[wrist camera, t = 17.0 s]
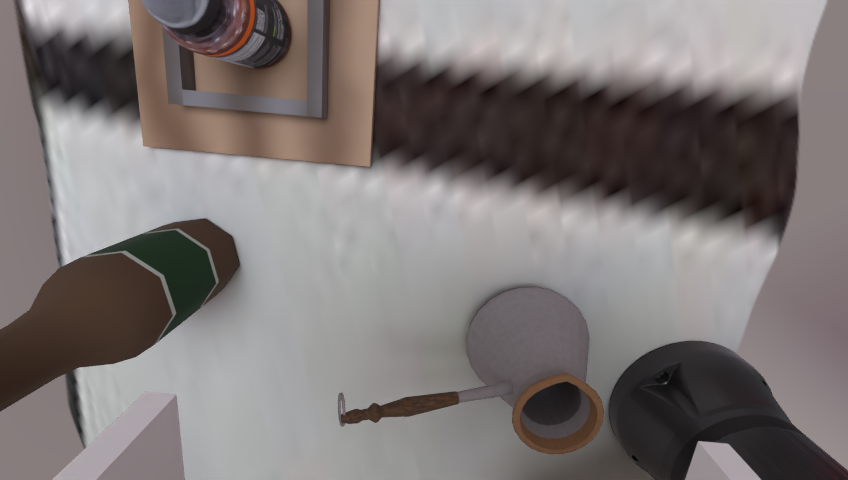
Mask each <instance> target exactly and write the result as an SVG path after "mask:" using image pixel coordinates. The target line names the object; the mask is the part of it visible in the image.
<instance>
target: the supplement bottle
mask: <svg viewBox="0 0 848 480" xmlns="http://www.w3.org/2000/svg"><path fill="white" fill-rule="evenodd" d="M141 2H142V4H143V5H144V7H145V9H146V10H147V12H148V13H149V14H150V15H151V16H152V17H153V18H154V19H155V20H157V21H158V22H159V23H160V25H161V26H162V28H163V29H164V31H165V32H166V33H167V34H168V35H169V36H170V37H171V38H172V39H173V40H174V41H175V42H176V43H178V44H179V45H181V46H182V47H184V48H186V49H188V50H190V51H192V52H195V53H198V54H202V55H204V56H208V57H211V58H215V59H219V60H223V61H226V62H228V63H229V62H230V63H233V64H237V65H240V66H245V67H249V68H257V69H261V68H267V67H270V66H272V65H274V64H276V63H277V62H279V61H280V60H281V59H282V58H283V56H284V55H285V54H286V52H287V50H288V47H289V44H290V40H291V26H290V22H289V18H288V15H287V13H286V11H285V10H284V8H283V6H282V5H281V4H280V2H279V1H278V0H141Z"/></svg>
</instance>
